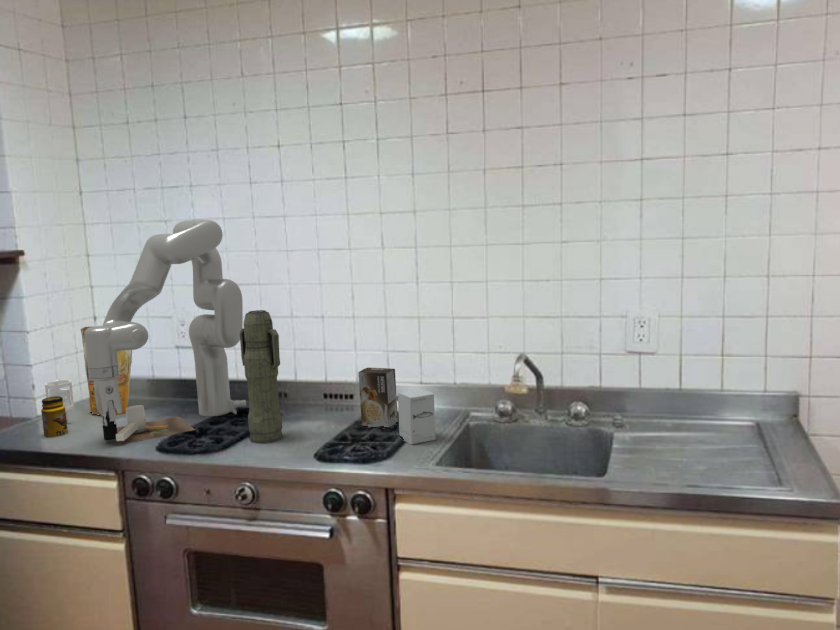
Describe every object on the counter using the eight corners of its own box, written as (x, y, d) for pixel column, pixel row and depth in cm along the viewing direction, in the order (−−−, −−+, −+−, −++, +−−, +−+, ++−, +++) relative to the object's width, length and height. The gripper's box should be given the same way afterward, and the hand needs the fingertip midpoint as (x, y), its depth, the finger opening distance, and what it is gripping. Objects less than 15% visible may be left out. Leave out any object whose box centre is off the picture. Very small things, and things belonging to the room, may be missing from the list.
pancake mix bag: (97, 409, 234) (88, 325, 230) (143, 412, 227) (134, 326, 223) (81, 414, 228) (71, 328, 224) (127, 418, 221) (118, 329, 217)
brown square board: (178, 421, 215) (178, 416, 215) (195, 434, 200) (195, 429, 200) (107, 434, 204) (107, 429, 204) (120, 449, 189) (119, 444, 189)
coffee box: (399, 423, 203) (396, 368, 201) (389, 429, 198) (387, 373, 195) (370, 420, 207) (367, 366, 205) (360, 427, 201) (357, 371, 199)
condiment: (71, 439, 201) (66, 398, 199) (37, 446, 196) (32, 403, 194) (67, 433, 207) (63, 393, 205) (35, 439, 202) (30, 398, 200)
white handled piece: (129, 427, 204) (127, 405, 203) (169, 425, 204) (167, 403, 203) (108, 445, 188) (105, 421, 187) (151, 442, 188) (148, 418, 187)
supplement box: (411, 445, 183) (409, 397, 181) (398, 438, 189) (396, 392, 188) (436, 440, 186) (434, 393, 184) (423, 433, 193) (421, 387, 191)
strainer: (48, 432, 209) (42, 382, 207) (52, 425, 216) (46, 377, 214) (74, 429, 211) (69, 379, 209) (77, 422, 218) (72, 375, 216)
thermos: (277, 444, 188) (267, 313, 183) (238, 441, 192) (228, 313, 187) (293, 434, 196) (285, 309, 192) (256, 432, 200) (247, 309, 196)
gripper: (125, 374, 185) (132, 442, 187) (113, 366, 197) (119, 430, 200) (94, 379, 181) (101, 448, 183) (83, 370, 193) (90, 435, 196)
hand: (110, 439), depth 192 cm, fingers closed
